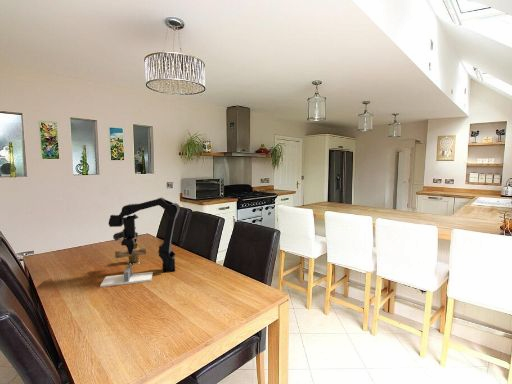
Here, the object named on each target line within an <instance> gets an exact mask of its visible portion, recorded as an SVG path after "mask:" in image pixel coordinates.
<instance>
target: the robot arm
mask: <svg viewBox="0 0 512 384" xmlns="http://www.w3.org/2000/svg"><path fill="white" fill-rule="evenodd" d="M157 206H159V207H161V208H162V209H163V210H165V211H166V214H167V222H166V228H165V234H164V238H163V242H162V243H161V244H160V245H159V246H158V251H157V254H158V257H159V258H160V259H161V260H162V262H161V263H162V266H161V267H162V271H163V273H171V272H176V259H175V258H176V253H175V252H174V251H173V249H172V248H173V247H172V240H173V239H172V238H173V233H174V228H175V223H176V219H177V218H178V215H179V212H180V209H181V207H180V205H179V203H176V202H172V201H170V200H167V199H165V198H164V197H159V198H155V199H151V200H148V201H144V202H140V203H129V204H126V205H123V206H122V208H121V211H120V213H119V214H111V215H110V217H109V219H108V226H109V228H118V227H119V228H120V227H122V226H123V229H122V230H121V231H119V232H116V233H114V234H113V236H112V237H113V240H114V241H115V242H116V241H118V240H120V239H122V241H120V244H121V245H120V246H125V247H126V248H127V249H126V250H128V252H129V254H132V251H133V249H134V246H135V243H137V240H138V237H139V233H138V232H137V231H136V230H137V229H136V220H137V219H138V218H139V216H138V215H137V214H135V213H136V212H140V211H143V210H146V209H149V208H150V209H151V208H153V207H157Z"/></svg>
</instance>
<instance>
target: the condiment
mask: <svg viewBox="0 0 512 384" xmlns="http://www.w3.org/2000/svg"><path fill="white" fill-rule="evenodd" d="M138 245H139V244H138V242H136V243H135V246H134V249H139V246H138ZM139 261H140V255H135V256H128V261H126V263H127V264H128V266H133V265H134V264H133V263H135V265H139V264H141V263H140V262H139ZM128 262H129V263H131V264H129V263H128ZM137 262H139V263H138V264H136V263H137ZM132 264H133V265H132ZM135 265H134V266H135Z"/></svg>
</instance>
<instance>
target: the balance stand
mask: <svg viewBox="0 0 512 384" xmlns="http://www.w3.org/2000/svg"><path fill="white" fill-rule="evenodd" d="M153 273H154V272H153V271H148V272H138V273H132V265H127V266H126V267H125V269H124V272H123V274H119V275H107V276H105V277H104V279H103V281H102V282H101V284H100V286H99V287H100V288H104V287H105V288H106V287H111V286H112V287H113V286H123V285H128V284H129V285H130V284H137V283H146V282H147V283H149V282H152V279H153Z"/></svg>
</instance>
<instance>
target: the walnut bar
mask: <svg viewBox="0 0 512 384" xmlns="http://www.w3.org/2000/svg"><path fill="white" fill-rule="evenodd" d="M146 254H147V248H146V247H138V249H133V251H132V254H129V252H128V249H126V250H117V251H115V252H114V257H115V259H120V258H126V257H128V256H135V255H139V256H141V255H146ZM128 258H129V257H128Z"/></svg>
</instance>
